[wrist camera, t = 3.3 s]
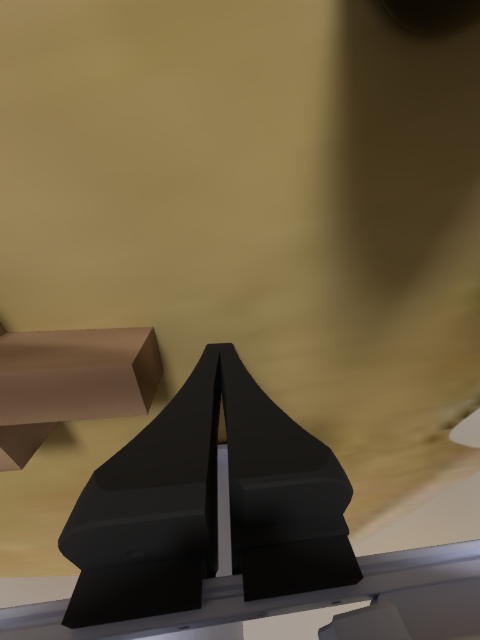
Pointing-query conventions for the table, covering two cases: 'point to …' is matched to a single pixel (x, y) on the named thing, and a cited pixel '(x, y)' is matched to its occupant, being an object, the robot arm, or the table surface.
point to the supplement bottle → (434, 15)
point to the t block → (70, 382)
